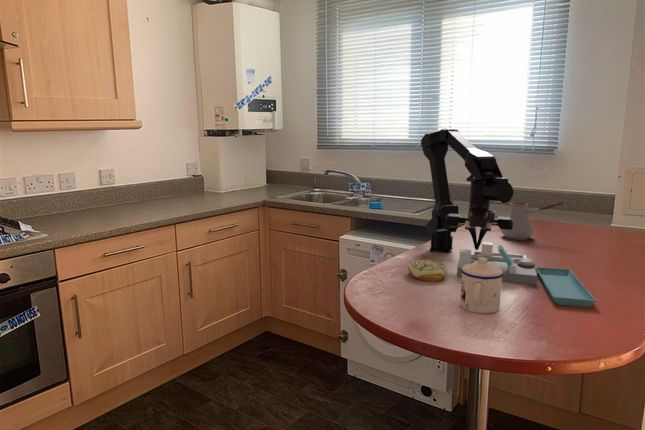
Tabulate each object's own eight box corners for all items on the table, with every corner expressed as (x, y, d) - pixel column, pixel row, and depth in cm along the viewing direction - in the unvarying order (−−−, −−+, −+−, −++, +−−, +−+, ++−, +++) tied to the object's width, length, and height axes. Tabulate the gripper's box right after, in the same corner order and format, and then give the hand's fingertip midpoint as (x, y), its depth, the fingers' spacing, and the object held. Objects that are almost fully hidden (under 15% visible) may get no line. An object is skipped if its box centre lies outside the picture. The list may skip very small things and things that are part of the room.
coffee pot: (496, 238, 176) (499, 198, 173) (504, 233, 185) (506, 194, 182) (560, 246, 164) (564, 203, 161) (564, 240, 174) (568, 199, 171)
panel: (457, 277, 131) (458, 261, 130) (460, 259, 148) (461, 245, 147) (537, 285, 125) (538, 268, 124) (531, 266, 142) (532, 251, 141)
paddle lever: (511, 272, 127) (497, 251, 128) (510, 267, 132) (497, 246, 132) (516, 269, 127) (502, 248, 127) (515, 264, 131) (501, 244, 132)
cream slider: (481, 257, 141) (482, 244, 140) (481, 254, 144) (482, 241, 143) (491, 258, 140) (492, 245, 139) (491, 255, 143) (492, 242, 142)
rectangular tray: (534, 273, 136) (534, 265, 135) (569, 276, 134) (570, 267, 133) (552, 307, 111) (553, 297, 111) (595, 311, 109) (597, 300, 108)
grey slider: (458, 265, 133) (459, 251, 132) (459, 262, 135) (460, 249, 135) (470, 266, 132) (470, 252, 131) (470, 263, 134) (471, 250, 134)
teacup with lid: (462, 297, 116) (465, 251, 113) (502, 303, 112) (506, 255, 110) (453, 315, 105) (456, 264, 103) (497, 322, 101) (500, 269, 99)
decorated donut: (413, 283, 127) (413, 269, 126) (403, 271, 137) (404, 258, 137) (451, 282, 127) (452, 268, 127) (439, 270, 138) (439, 257, 137)
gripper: (444, 200, 135) (442, 253, 138) (515, 203, 129) (511, 259, 132) (448, 195, 145) (445, 244, 148) (513, 198, 139) (509, 249, 142)
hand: (476, 249), depth 142 cm, fingers closed
